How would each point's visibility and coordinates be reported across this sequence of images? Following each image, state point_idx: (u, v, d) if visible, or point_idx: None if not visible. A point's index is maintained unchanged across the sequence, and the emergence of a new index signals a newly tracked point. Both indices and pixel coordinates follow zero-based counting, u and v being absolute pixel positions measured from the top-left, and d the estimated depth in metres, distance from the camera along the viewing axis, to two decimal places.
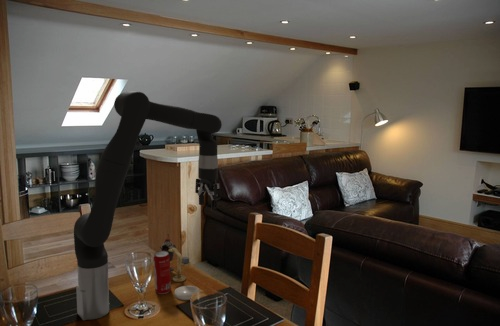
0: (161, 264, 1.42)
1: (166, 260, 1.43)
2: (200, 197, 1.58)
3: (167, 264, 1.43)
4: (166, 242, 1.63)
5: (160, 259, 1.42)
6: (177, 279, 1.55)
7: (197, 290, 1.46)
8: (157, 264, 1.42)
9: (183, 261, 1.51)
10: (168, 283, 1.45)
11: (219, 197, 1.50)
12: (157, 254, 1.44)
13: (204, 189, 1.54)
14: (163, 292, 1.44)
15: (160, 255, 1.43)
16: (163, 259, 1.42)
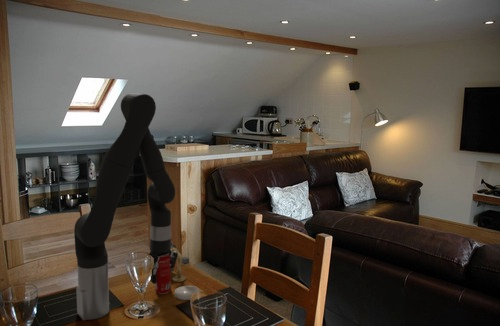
0: (162, 264, 1.42)
1: (166, 260, 1.43)
2: None
3: (167, 264, 1.43)
4: None
5: (161, 259, 1.42)
6: (177, 279, 1.55)
7: (197, 290, 1.46)
8: (158, 264, 1.42)
9: (183, 261, 1.51)
10: (168, 283, 1.45)
11: None
12: None
13: None
14: (163, 292, 1.44)
15: None
16: (163, 259, 1.42)
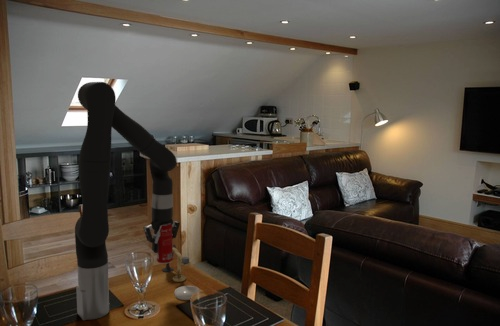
0: (164, 233, 1.41)
1: (169, 229, 1.42)
2: None
3: (169, 233, 1.43)
4: None
5: (163, 227, 1.41)
6: (177, 279, 1.55)
7: (197, 290, 1.46)
8: (160, 233, 1.41)
9: (183, 261, 1.51)
10: (170, 253, 1.44)
11: None
12: None
13: None
14: (165, 262, 1.43)
15: None
16: (165, 228, 1.41)
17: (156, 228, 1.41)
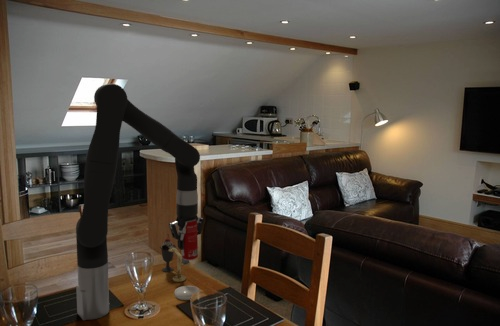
0: (189, 230, 1.39)
1: (194, 225, 1.40)
2: None
3: (195, 230, 1.40)
4: (166, 242, 1.63)
5: (188, 224, 1.39)
6: (177, 279, 1.55)
7: (197, 290, 1.46)
8: None
9: (183, 261, 1.51)
10: (195, 249, 1.42)
11: None
12: None
13: None
14: (190, 258, 1.41)
15: None
16: (190, 224, 1.39)
17: (181, 225, 1.39)
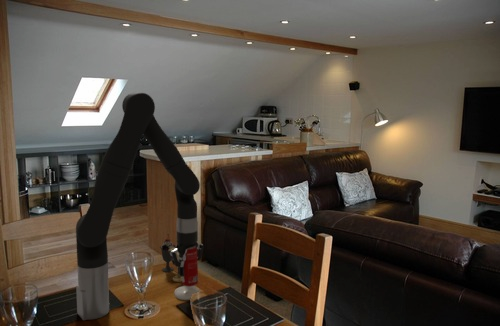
0: (189, 257, 1.41)
1: (194, 252, 1.41)
2: None
3: (195, 256, 1.42)
4: (166, 242, 1.63)
5: (188, 251, 1.40)
6: (177, 279, 1.55)
7: (197, 290, 1.46)
8: None
9: None
10: (195, 276, 1.43)
11: None
12: None
13: None
14: (190, 285, 1.43)
15: None
16: (190, 252, 1.40)
17: (182, 252, 1.40)
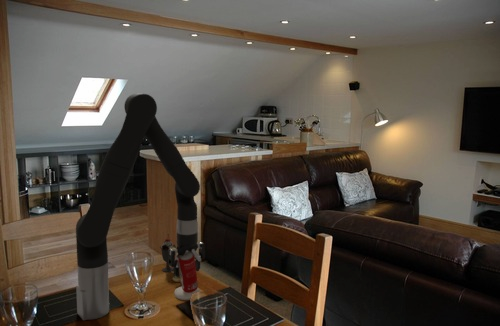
0: (187, 267, 1.39)
1: (191, 262, 1.39)
2: None
3: (192, 266, 1.40)
4: (166, 242, 1.63)
5: (185, 262, 1.38)
6: (177, 279, 1.55)
7: (197, 290, 1.46)
8: (183, 267, 1.39)
9: None
10: (195, 282, 1.43)
11: None
12: (181, 256, 1.40)
13: None
14: (190, 291, 1.43)
15: (185, 257, 1.39)
16: (188, 262, 1.38)
17: (181, 252, 1.40)
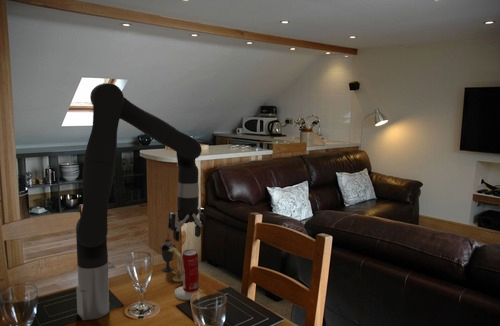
0: (190, 263, 1.41)
1: (195, 259, 1.42)
2: None
3: (196, 263, 1.42)
4: (166, 242, 1.63)
5: (189, 257, 1.41)
6: (177, 279, 1.55)
7: (197, 290, 1.46)
8: (186, 263, 1.41)
9: None
10: (196, 282, 1.44)
11: None
12: (186, 253, 1.43)
13: (187, 220, 1.40)
14: (191, 291, 1.43)
15: (189, 254, 1.42)
16: (191, 258, 1.41)
17: (182, 216, 1.38)
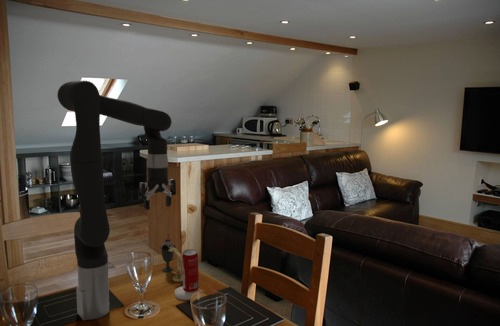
0: (190, 263, 1.41)
1: (195, 259, 1.42)
2: None
3: (196, 263, 1.42)
4: (166, 242, 1.63)
5: (189, 257, 1.41)
6: (177, 279, 1.55)
7: (197, 290, 1.46)
8: (186, 263, 1.41)
9: None
10: (196, 282, 1.44)
11: None
12: (185, 252, 1.43)
13: (157, 190, 1.47)
14: (191, 291, 1.43)
15: (189, 254, 1.42)
16: (191, 258, 1.41)
17: (152, 186, 1.45)
